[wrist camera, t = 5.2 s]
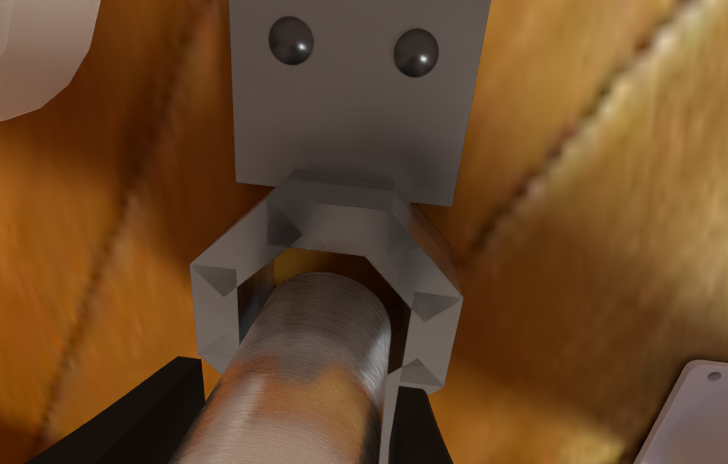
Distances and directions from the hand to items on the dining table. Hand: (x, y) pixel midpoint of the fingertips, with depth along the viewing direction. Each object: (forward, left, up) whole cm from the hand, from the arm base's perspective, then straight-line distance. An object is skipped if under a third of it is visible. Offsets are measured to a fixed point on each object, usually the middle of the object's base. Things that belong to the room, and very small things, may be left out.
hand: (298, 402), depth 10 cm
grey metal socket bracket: (0, 0, -7) cm, 7 cm away
